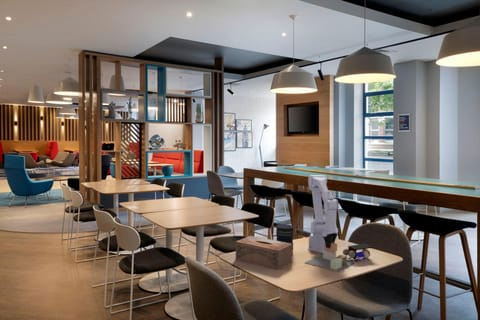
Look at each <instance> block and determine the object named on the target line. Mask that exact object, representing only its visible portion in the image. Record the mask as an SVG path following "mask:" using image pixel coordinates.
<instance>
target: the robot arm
mask: <svg viewBox="0 0 480 320" xmlns="http://www.w3.org/2000/svg"><path fill="white" fill-rule="evenodd" d="M307 182H308V190H309V191H311V193H312V194H311V195H312V204H313V211H314V219H312V221H311V222H310V233H311V234H309V237H308V249H307V250H308V251H312V252H315V253H319V254H323V251H324V243H325V245H326V248H330V247H331V243H336V239H337V238H338V236H339V228H338V227H337V211H338V210H339V206H340V205H339V201H338V199H336V198H334V196H333V194H332V192H331V190H329V189H328V186H327V183H328V178H327V175H326V174H309V176H308V180H307ZM322 201H323V204H322ZM323 208H324V210H323ZM324 214H325V216H324Z"/></svg>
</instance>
